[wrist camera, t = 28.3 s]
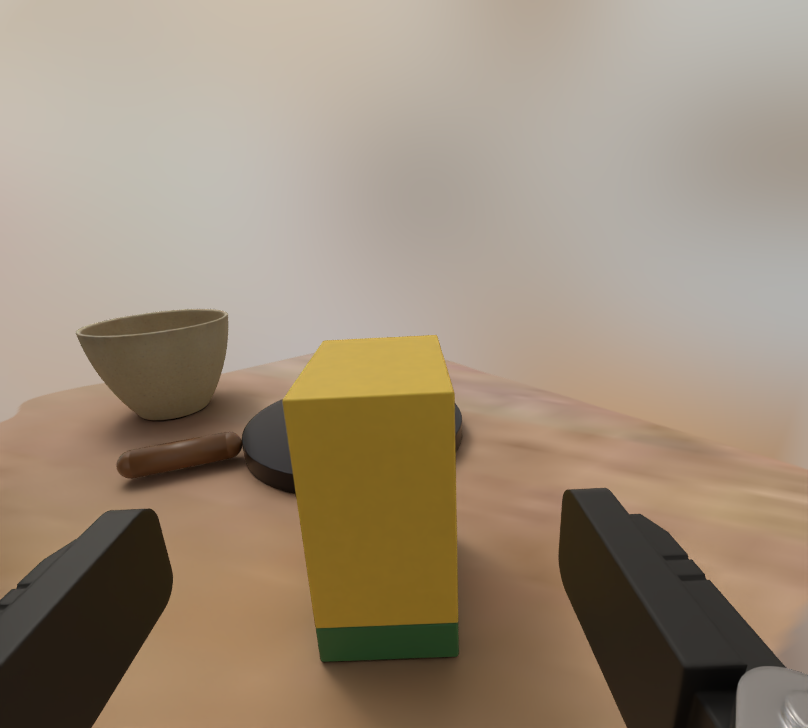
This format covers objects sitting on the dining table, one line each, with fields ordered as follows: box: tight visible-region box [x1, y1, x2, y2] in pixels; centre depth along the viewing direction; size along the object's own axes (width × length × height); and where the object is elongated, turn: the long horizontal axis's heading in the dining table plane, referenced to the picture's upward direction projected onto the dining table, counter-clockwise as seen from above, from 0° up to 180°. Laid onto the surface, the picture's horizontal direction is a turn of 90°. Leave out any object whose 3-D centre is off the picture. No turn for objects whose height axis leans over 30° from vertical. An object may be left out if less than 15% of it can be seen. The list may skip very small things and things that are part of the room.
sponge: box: [282, 335, 459, 662], centre depth 15 cm, size 4×6×9 cm
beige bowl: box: [76, 309, 228, 420], centre depth 34 cm, size 10×10×7 cm
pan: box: [117, 399, 462, 493], centre depth 28 cm, size 21×14×2 cm
